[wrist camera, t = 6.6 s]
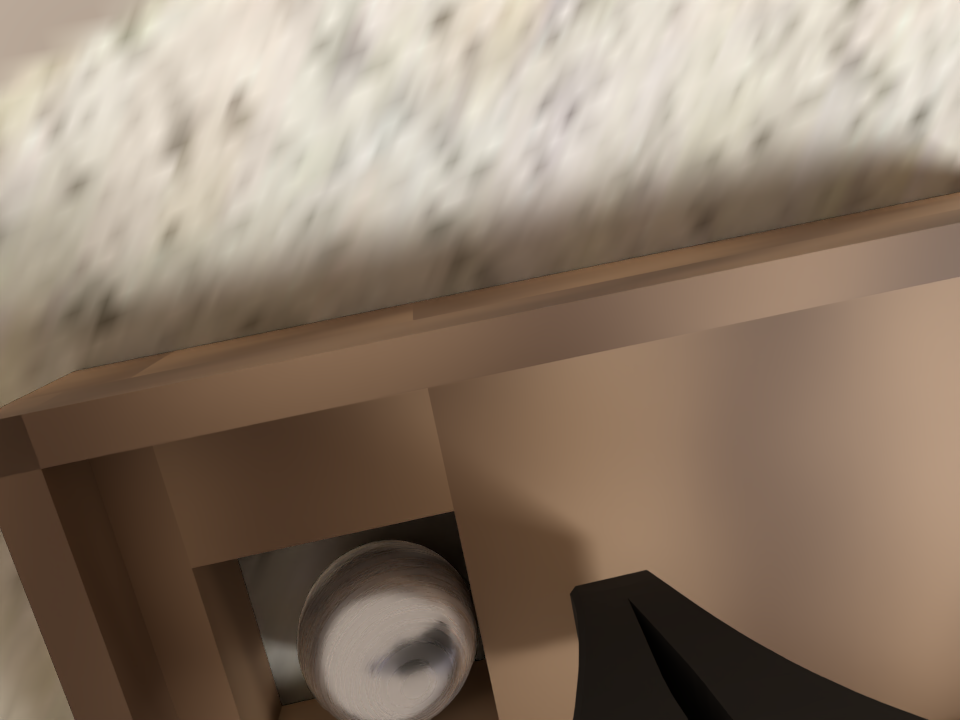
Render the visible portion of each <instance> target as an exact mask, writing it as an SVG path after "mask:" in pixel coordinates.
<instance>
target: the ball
mask: <svg viewBox="0 0 960 720" xmlns="http://www.w3.org/2000/svg"><path fill="white" fill-rule="evenodd" d="M477 639H478V624H477V616H476V610H475V606H474V603H473V600H472V597H471V594H470V592H469V590H468V588H467V586H466V584H465V582H464V581H463V579H462V578H461V576H460V575H459V573H458V572H457V571H456V570H455V569H454V567H453V566H452V565H451V564H450V563H449V562H448V561H447V560H445V559H444V558H443V557H441V556H440V555H439V554H437V553H436V552H434V551H432V550H430V549H428V548H426V547H424V546H421V545H419V544H416V543H412V542H407V541H402V540H384V541H377V542H372V543H368V544H365V545H362V546H359V547H357V548H355V549H352V550H350V551H349V552H347V553H345V554H344V555H342V556H341V557H339V558H338V559H337V560H335V561H334V562H333V563H332V564H331V565H330V566H329V567H328V568H327V569H326V570H325V571H324V572H323V573H322V574H321V576H320V577H319V578H318V579H317V581H316V582H315V584H314V585H313V587H312V588H311V590H310V592H309V594H308V596H307V598H306V600H305V603H304V606H303V609H302V611H301V614H300V619H299V623H298V634H297V651H298V658H299V663H300V667H301V671H302V674H303V676H304V679H305V681H306V683H307V686H308V688H309V689H310V691H311V693H312V694H313V696H314V697H315V699H316V700H317V701H318V702H319V704H320V705H321V706H322V707H323V708H324V709H325V710H326V711H327V712H329V713H330V714H331V715H332V716H333V717H335V718H336V719H337V720H430V719H431V718H433V717H434V716H436V715H437V714H438V713H440V712H441V711H442V710H443V709H444V708H445V707H446V706H447V705H448V704H449V703H450V702H451V701H452V700H453V699H454V697H455V696H456V695H457V694H458V692H459V691H460V689H461V688H462V686H463V685H464V683H465V681H466V679H467V677H468V675H469V672H470V670H471V667H472V664H473V662H474V658H475V654H476V648H477Z"/></svg>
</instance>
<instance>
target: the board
mask: <svg viewBox="0 0 960 720" xmlns="http://www.w3.org/2000/svg"><path fill="white" fill-rule="evenodd" d="M451 511H454V513H455V517H456V522H457V527H458V531H459V536H460V541H461V545H462V550H463V554H464V559H465V564H466V568H467V573H468V578H469V582H470V587H471V592H472V596H473V601H474V605H475V610H476V615H477V619H478V624H479V629H480V633H481V638H482V643H483V647H484V652H485V656H486V659H484V660H480V661H475V662H473V664H472V667H471V670H470V672H469V675H468V677H467V679H466V681H465V683H464V685H463V686H462V688H461V689H460V691H459V692H458V694H457V695H456V696H455V697H454V699H453V700H452V701H451V702H450V703H449V704H448V705H447V706H446V707H445V708H444V709H443V710H442V711H441V712H440V713H438V714H437V715H436V716H434V717H433V718H431V719H430V720H573V716H574V709H575V699H576V690H577V680H578V667H579V641H578V636H577V630H576V625H575V620H574V614H573V609H572V603H571V598H570V593H571V591H572V590H573V589H574V587H575V586H578V585H582V584H587V583H591V582H595V581H600V580H604V579H608V578H613V577H617V576H621V575H626V574H630V573H635V572H639V571H643V570H648V571H649V572H651V573H652V574H654V575H655V576H657V577H658V578H660V579H661V580H663V581H664V582H665V583H667V584H668V585H670V586H671V587H672V588H674V589H675V590H677V591H678V592H680V593H681V594H682V595H684V596H685V597H687V598H688V599H690V600H691V601H693V602H694V603H696V604H697V605H698V606H700V607H701V608H703V609H704V610H706V611H707V612H709V613H710V614H712V615H713V616H715V617H716V618H718V619H720V620H721V621H723V622H724V623H726V624H727V625H729V626H731V627H732V628H734V629H735V630H737V631H739V632H740V633H742V634H744V635H745V636H747V637H749V638H750V639H752V640H754V641H755V642H757V643H759V644H761V645H763V646H764V647H766V648H768V649H770V650H772V651H773V652H775V653H777V654H779V655H781V656H782V657H784V658H786V659H788V660H790V661H792V662H794V663H796V664H798V665H800V666H802V667H804V668H806V669H808V670H810V671H812V672H814V673H816V674H818V675H820V676H822V677H825V678H827V679H829V680H831V681H833V682H836V683H838V684H840V685H842V686H844V687H847V688H849V689H851V690H853V691H855V692H858V693H860V694H862V695H865V696H867V697H870V698H872V699H875V700H877V701H880V702H882V703H885V704H887V705H890V706H893V707H895V708H898V709H901V710H904V711H906V712H909V713H912V714H914V715H917V716H920V717H923V718H925V719H928V720H960V192H958V193H953V194H948V195H943V196H938V197H933V198H928V199H923V200H918V201H913V202H908V203H903V204H898V205H893V206H888V207H884V208H879V209H874V210H869V211H864V212H859V213H854V214H849V215H844V216H839V217H834V218H829V219H824V220H819V221H814V222H809V223H804V224H800V225H795V226H790V227H785V228H780V229H775V230H770V231H765V232H760V233H755V234H750V235H745V236H740V237H735V238H730V239H725V240H720V241H716V242H711V243H706V244H701V245H696V246H691V247H686V248H681V249H676V250H671V251H666V252H661V253H656V254H651V255H646V256H641V257H636V258H631V259H627V260H622V261H617V262H612V263H607V264H602V265H597V266H592V267H587V268H582V269H577V270H572V271H567V272H562V273H557V274H552V275H547V276H543V277H538V278H533V279H528V280H523V281H518V282H513V283H508V284H503V285H498V286H493V287H488V288H483V289H478V290H473V291H468V292H463V293H459V294H454V295H449V296H444V297H439V298H434V299H429V300H424V301H419V302H414V303H409V304H404V305H399V306H394V307H389V308H384V309H379V310H375V311H370V312H365V313H360V314H355V315H350V316H345V317H340V318H335V319H330V320H325V321H320V322H315V323H310V324H305V325H300V326H295V327H291V328H286V329H281V330H276V331H271V332H266V333H261V334H256V335H251V336H246V337H241V338H236V339H231V340H226V341H221V342H216V343H211V344H207V345H202V346H197V347H192V348H187V349H182V350H177V351H172V352H167V353H162V354H157V355H152V356H147V357H142V358H137V359H132V360H127V361H122V362H118V363H113V364H108V365H103V366H98V367H93V368H88V369H83V370H78V371H74V372H72V373H70V374H68V375H66V376H64V377H62V378H60V379H58V380H56V381H54V382H51V383H49V384H47V385H45V386H43V387H41V388H39V389H37V390H35V391H33V392H31V393H29V394H27V395H25V396H23V397H21V398H19V399H17V400H15V401H13V402H11V403H9V404H7V405H5V406H3V407H1V408H0V528H1V531H2V533H3V536H4V538H5V541H6V544H7V546H8V549H9V551H10V554H11V556H12V559H13V562H14V564H15V567H16V569H17V572H18V574H19V577H20V580H21V582H22V585H23V587H24V590H25V592H26V595H27V598H28V600H29V603H30V605H31V608H32V610H33V613H34V616H35V618H36V621H37V623H38V626H39V628H40V631H41V634H42V636H43V639H44V641H45V644H46V646H47V649H48V652H49V654H50V657H51V659H52V662H53V664H54V667H55V670H56V672H57V675H58V677H59V680H60V682H61V685H62V688H63V690H64V693H65V695H66V698H67V700H68V703H69V706H70V708H71V711H72V713H73V716H74V718H75V720H337V719H336V718H335V717H333V716H332V715H331V714H330V713H329V712H327V711H326V710H325V709H324V708H323V707H322V706H321V705H320V704H319V702H318V701H317V700H316V699H311V700H306V701H302V702H298V703H293V704H289V705H285V706H282V705H281V701H280V698H279V695H278V691H277V688H276V685H275V682H274V678H273V675H272V672H271V668H270V665H269V662H268V658H267V655H266V652H265V649H264V645H263V642H262V639H261V635H260V632H259V629H258V625H257V622H256V619H255V615H254V612H253V609H252V606H251V602H250V599H249V596H248V592H247V589H246V586H245V582H244V579H243V576H242V573H241V569H240V566H239V563H238V559H237V558H241V557H246V556H250V555H255V554H260V553H264V552H269V551H273V550H278V549H282V548H287V547H292V546H296V545H301V544H305V543H310V542H314V541H319V540H324V539H328V538H333V537H337V536H342V535H346V534H351V533H356V532H360V531H365V530H369V529H374V528H378V527H383V526H387V525H392V524H397V523H401V522H406V521H410V520H415V519H419V518H424V517H429V516H433V515H438V514H442V513H447V512H451Z"/></svg>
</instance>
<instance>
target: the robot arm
mask: <svg viewBox="0 0 960 720" xmlns="http://www.w3.org/2000/svg"><path fill="white" fill-rule="evenodd" d="M570 598H571V603H572V609H573V614H574V620H575V625H576V630H577V636H578V641H579V667H578V680H577V690H576V699H575V709H574V716H573V720H928V719H925V718H923V717H920V716H917V715H914V714H912V713H909V712H906V711H904V710H901V709H898V708H895V707H893V706H890V705H887V704H885V703H882V702H880V701H877V700H875V699H872V698H870V697H867V696H865V695H862V694H860V693H858V692H855V691H853V690H851V689H849V688H847V687H844V686H842V685H840V684H838V683H836V682H833V681H831V680H829V679H827V678H825V677H822V676H820V675H818V674H816V673H814V672H812V671H810V670H808V669H806V668H804V667H802V666H800V665H798V664H796V663H794V662H792V661H790V660H788V659H786V658H784V657H782V656H781V655H779V654H777V653H775V652H773V651H772V650H770V649H768V648H766V647H764V646H763V645H761V644H759V643H757V642H755V641H754V640H752V639H750V638H749V637H747V636H745V635H744V634H742V633H740V632H739V631H737V630H735V629H734V628H732V627H731V626H729V625H727V624H726V623H724V622H723V621H721V620H720V619H718V618H716V617H715V616H713V615H712V614H710V613H709V612H707V611H706V610H704V609H703V608H701V607H700V606H698V605H697V604H696V603H694V602H693V601H691V600H690V599H688V598H687V597H685V596H684V595H682V594H681V593H680V592H678V591H677V590H675V589H674V588H672V587H671V586H670V585H668V584H667V583H665V582H664V581H663V580H661V579H660V578H658V577H657V576H655V575H654V574H652V573H651V572H649V571H648V570H643V571H639V572H635V573H630V574H626V575H621V576H617V577H613V578H608V579H604V580H600V581H595V582H591V583H587V584H582V585H578V586H575V587H574V589H573V590H572V591H571V593H570Z"/></svg>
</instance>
